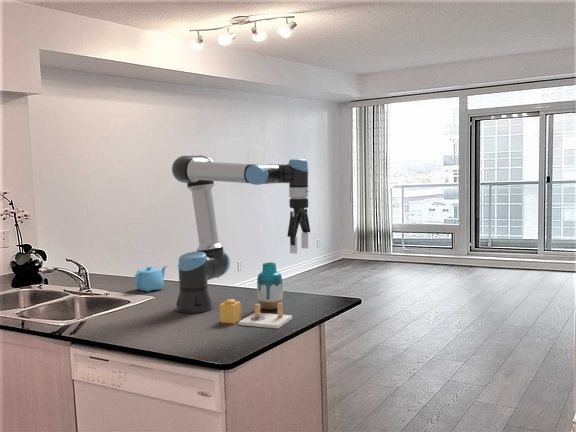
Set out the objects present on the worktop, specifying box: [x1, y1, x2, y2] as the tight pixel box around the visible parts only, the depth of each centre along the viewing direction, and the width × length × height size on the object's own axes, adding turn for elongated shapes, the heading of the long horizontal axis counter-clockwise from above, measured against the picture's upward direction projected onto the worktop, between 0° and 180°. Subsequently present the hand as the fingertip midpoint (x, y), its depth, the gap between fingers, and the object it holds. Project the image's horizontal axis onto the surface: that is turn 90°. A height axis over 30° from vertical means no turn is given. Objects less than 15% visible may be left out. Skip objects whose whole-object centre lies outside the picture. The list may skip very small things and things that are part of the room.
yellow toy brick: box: [219, 298, 242, 324], centre depth 216 cm, size 6×6×8 cm
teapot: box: [134, 265, 168, 293], centre depth 276 cm, size 12×18×12 cm
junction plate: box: [238, 301, 293, 329], centre depth 213 cm, size 16×14×7 cm
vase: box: [256, 261, 284, 310], centre depth 232 cm, size 11×11×19 cm
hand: (299, 250), depth 225 cm, fingers open, 13 cm apart
